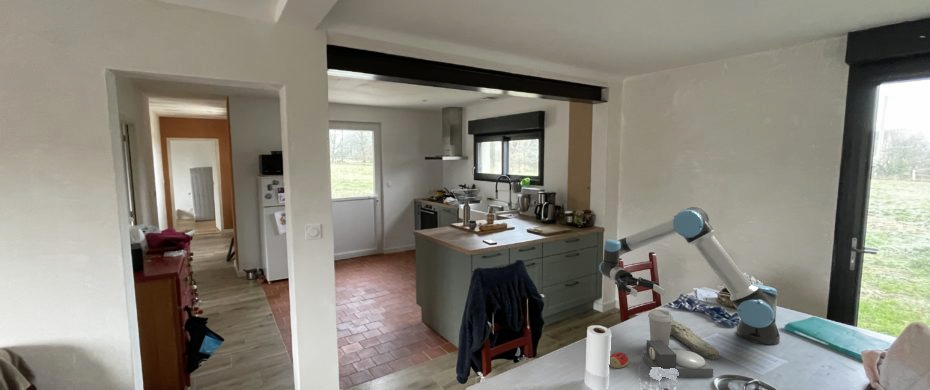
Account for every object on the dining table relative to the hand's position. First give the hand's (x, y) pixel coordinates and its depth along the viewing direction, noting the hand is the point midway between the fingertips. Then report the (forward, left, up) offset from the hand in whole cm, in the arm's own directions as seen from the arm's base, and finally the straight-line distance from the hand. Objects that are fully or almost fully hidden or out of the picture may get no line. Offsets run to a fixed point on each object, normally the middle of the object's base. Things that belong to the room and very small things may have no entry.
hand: (650, 293), depth 166 cm
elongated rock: (-16, 0, -21) cm, 26 cm away
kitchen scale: (0, +24, -21) cm, 31 cm away
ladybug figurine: (+21, +21, -21) cm, 36 cm away
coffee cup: (-1, +8, -21) cm, 22 cm away
